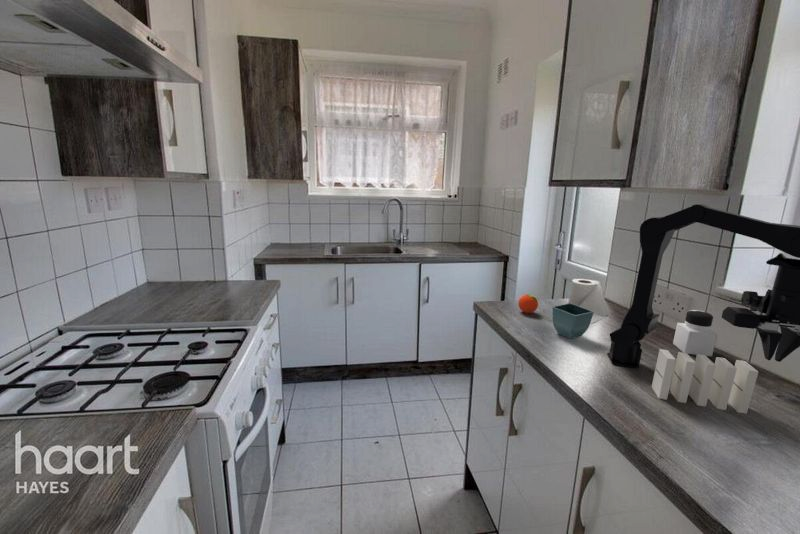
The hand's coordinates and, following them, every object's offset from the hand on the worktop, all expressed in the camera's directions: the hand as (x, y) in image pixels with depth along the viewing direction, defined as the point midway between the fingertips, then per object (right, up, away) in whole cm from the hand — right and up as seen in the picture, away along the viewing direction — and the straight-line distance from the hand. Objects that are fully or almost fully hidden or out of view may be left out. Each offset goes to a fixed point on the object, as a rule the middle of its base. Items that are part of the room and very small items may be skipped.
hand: (772, 360), depth 78 cm
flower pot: (-25, -2, +40) cm, 47 cm away
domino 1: (-18, -10, +8) cm, 22 cm away
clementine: (-31, +2, +59) cm, 67 cm away
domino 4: (-8, -11, +5) cm, 14 cm away
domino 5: (-4, -11, +4) cm, 13 cm away
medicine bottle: (+8, -5, +32) cm, 33 cm away
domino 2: (-15, -10, +7) cm, 19 cm away
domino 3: (-11, -11, +6) cm, 17 cm away
